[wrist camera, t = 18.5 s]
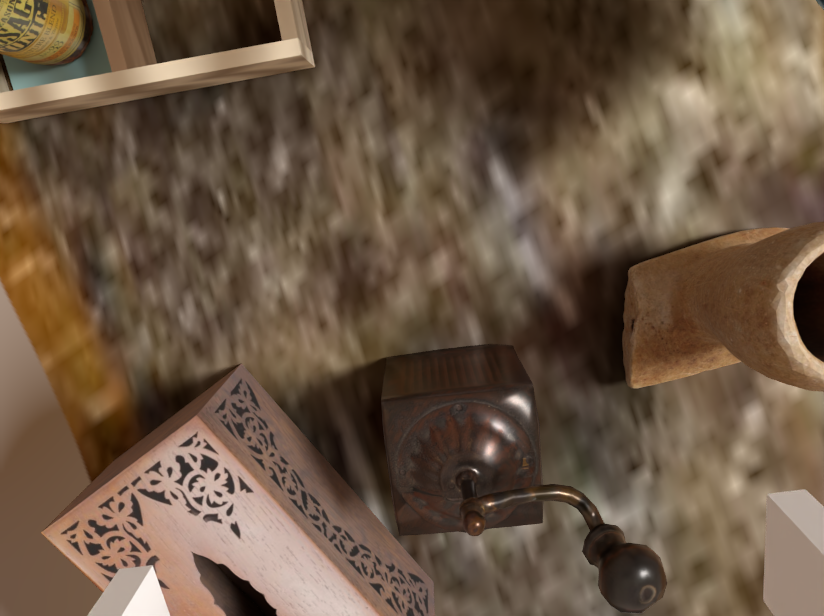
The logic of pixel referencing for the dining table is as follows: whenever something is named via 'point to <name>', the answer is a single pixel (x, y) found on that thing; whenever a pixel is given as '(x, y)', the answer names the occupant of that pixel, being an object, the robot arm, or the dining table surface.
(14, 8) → the sauce bottle
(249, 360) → the dining table surface
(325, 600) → the tissue box cover
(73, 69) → the birch caddy
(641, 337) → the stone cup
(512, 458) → the manual coffee grinder
